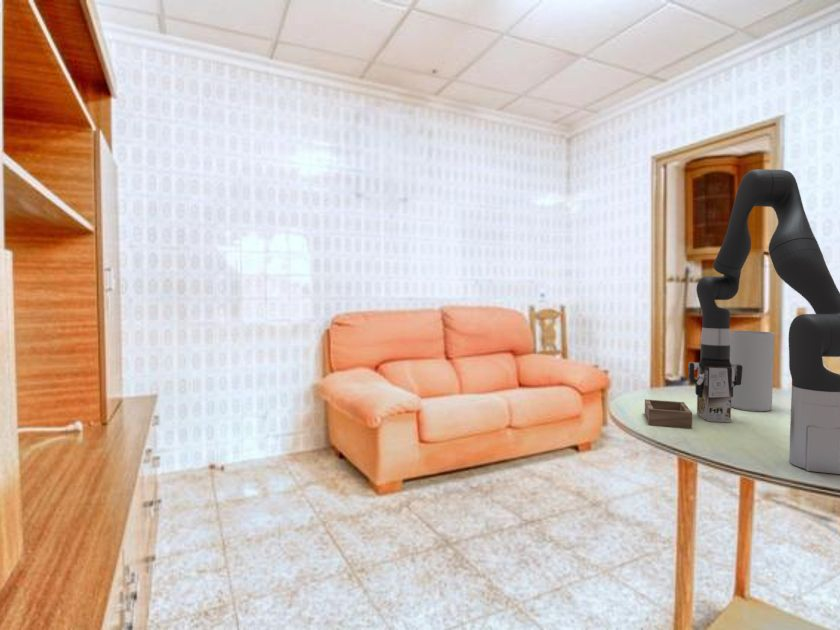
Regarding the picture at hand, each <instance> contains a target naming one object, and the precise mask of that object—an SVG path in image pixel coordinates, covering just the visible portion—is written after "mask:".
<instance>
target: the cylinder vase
mask: <svg viewBox="0 0 840 630" xmlns="http://www.w3.org/2000/svg"><path fill="white" fill-rule="evenodd" d="M774 352H775V332H770V331H760V330H759V331H757V330H755V331H754V330H730V363H731V364H735V365H736V364H740V365H741V366H742V367H743V368H742V379H741V385H736V386H734V387H733V397H731V409H736V410H741V411H748V412H759V413H760V412H769V411H771V410H772V407H773V389H774V387H773V384H774V358H775V357H774V356H775V355H774V354H775V353H774ZM734 378H735V371H733V368H732V381H734Z"/></svg>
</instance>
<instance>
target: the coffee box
mask: <svg viewBox="0 0 840 630" xmlns="http://www.w3.org/2000/svg"><path fill="white" fill-rule="evenodd" d="M703 373H704V379H703V382H702V383H701V385H702V397H698V395H696V396H697V397H696V400H697V401H696V402H697V403H696V414H697V415H698V416H699V417H700V418H702V419H704V420H706V421H707V422H715V423H731V417H732V413H731V412H732V407H731V388H732V368H730V367H726V366H713V367H710V366H704V370H702V369H701V368H700V367H699V366H698V367H697V378H698V377H699V375H700V374H703Z"/></svg>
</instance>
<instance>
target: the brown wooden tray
mask: <svg viewBox="0 0 840 630" xmlns="http://www.w3.org/2000/svg"><path fill="white" fill-rule="evenodd" d="M644 416H645V419H646V422H647V424H648V425H649V426H657V427H668V428H679V429H690V430H692V429H693V412H692V411H691V409H690V408H689V407H688V406H687V404H686V403H685V402H684V401H674V400H673V401H672V400H671V401H670V400H661V399H660V400H657V399H646V398H645V399H644Z"/></svg>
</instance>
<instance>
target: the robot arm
mask: <svg viewBox="0 0 840 630" xmlns="http://www.w3.org/2000/svg"><path fill="white" fill-rule="evenodd" d="M754 207H762V208H763V207H770V208H772V209H773V211H774V212H775V214H776V218H777V225H776V228H775V231H774V232H773V234H772V236H771V238H770V240H769V243H768V254H769V257H770V259H771V262H772V265H773V268H774V271H775V272H776V274H777V276H778V277H779V278H780V279H781V280H782V281H783V282H784V283H785V284H787V285H788V286H789V287H791V288H792V290H794V291H795V292H796V293H798V294H799V295H800V296H802V297H803V298H804V299H805V300H806V301H807V302H808V304H809V305H810V306H811V308H812V309H813V311H814V313H804V314H799V315H796V316H795V317H794V318H793V320H792V321H791V323H790V326H789V331H788V361H789V362H788V364H789V365H788V368H789V369H788V370H789V373H790V376H791V398H790V400H791V401H790V422H789V426H790V427H789V451H788V452H789V454H788V455H789V457H788V458H789V459H788V462H789V463H790V464H791V465H794V466H795V467H798V468H801V469H804V470H806V471H807V472H817V473H826V474H834V475H840V374H839V373H836V372H833V371H830V370H829V369H827V368H826V367H825V365H824V362H823V360H824V359H823V357H827V358H828V357H829V358H837V357H838V358H840V291H839V289H838V287H837V284H836V283H835V281H834V279H833V276H832V275H831V272H830V270H829V268H828V266H827V265H828V264H826V261H825V257H824V255H823V252H822V250H821V248H820V245H819V242H818V241H817V238H816V236H815V235H814V232H813V231H812V227H811V225H810V221H809V220H808V216H807V215H806V211H805V208H804V205H803V200H802V196H801V191H800V189H799V186H798V183H797V179H796V177H795V175H794V174H793V173H792V172H790V171H789V170H784V169H764V168H763V169H752V170H749V171H748V172H747V173H745V174H744V176H743V177H742V179H741V181H740V183H739V185H738V188H737V191H736V195H735V198H734V202H733V206H732V210H731V213H730V217H729V222H728V227H727V229H726V233H725V236H724V240H723V242H722V244H721V245H720V248H719V251H718V253H717V255H716V258H715V259H714V262H713V269H714V270H715V271H716V272H717V273H719V274H721V275H723V276H703V277H702V278H700V279H699V281H698V282H697V284H696V289H695V290H696V296H697V298H698V301H699V306H700V309H701V314H702V320H701V321H702V324H701V325H702V326H701V327H702V328H701V334H700V340H699V341H700V359H699V361H698V362H692V361H689V362H687V363H688V364H687V365H688V366H687V367H688V381H689V383H690V382H691V383H692V384H695V389H694V390H695V395H696V396H697V395H698V397H702V385H701V383H702V382H703V379H704V373H703V374H700V375H699V377H698V376H697V378H695V370H698V366H699V367H700V368H701V369H702V370H704V366H710V367H713V366H726V367H730V368H733V371H735V378H734V381H732V388H731V397H733V387H734V386H736V385H741V379H742V368H743V367H742V366H741V365H740V364H736V365H735V364H731V363H730V331H731V327H730V326H731V312H730V311H729V310H728V309H727V308H725V307H724V308H722V307H719V306H718V305H717V303H716V301H728V300H731V299H733V298H734V297H735V296H736V295H737V294H738V292H739V289H740V281H741V275H742V274H741V273H742V269H743V267H744V265H745V263H746V261H747V259H748V257H749V255H750V252H751V249H752V238H751V233H750V229H749V224H748V222H749V217H750V214H751V212H752V210H753V209H754Z"/></svg>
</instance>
